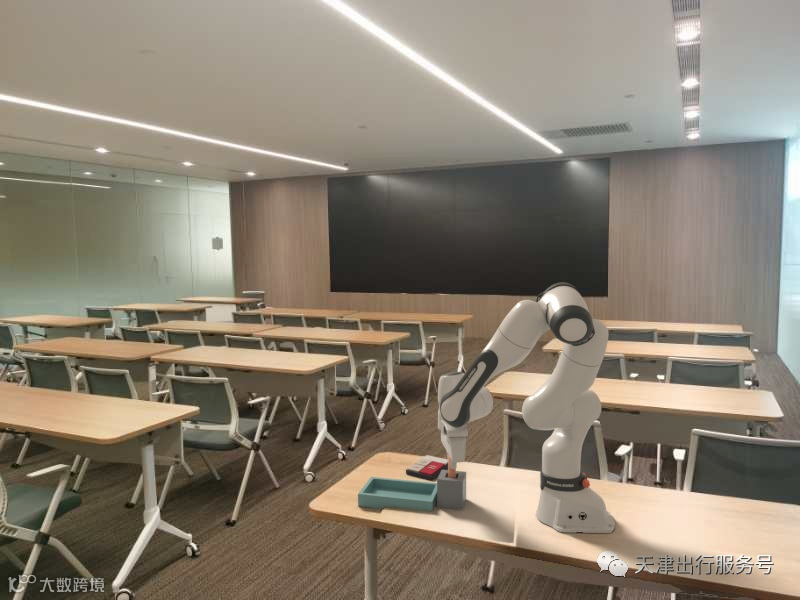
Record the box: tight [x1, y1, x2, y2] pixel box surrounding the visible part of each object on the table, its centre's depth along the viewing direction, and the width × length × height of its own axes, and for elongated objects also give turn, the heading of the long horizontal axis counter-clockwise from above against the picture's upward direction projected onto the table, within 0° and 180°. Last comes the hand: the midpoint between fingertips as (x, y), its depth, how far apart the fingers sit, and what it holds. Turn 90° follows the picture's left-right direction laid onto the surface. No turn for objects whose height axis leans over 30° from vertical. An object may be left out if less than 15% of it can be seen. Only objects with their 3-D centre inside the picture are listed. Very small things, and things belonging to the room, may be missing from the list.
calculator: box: [405, 454, 448, 481], centre depth 201 cm, size 11×4×15 cm
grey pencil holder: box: [436, 470, 467, 511], centre depth 174 cm, size 8×8×10 cm
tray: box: [357, 476, 437, 512], centre depth 179 cm, size 24×14×4 cm, turn 76°
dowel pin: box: [447, 454, 457, 478], centre depth 174 cm, size 2×2×16 cm
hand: (452, 465), depth 174 cm, fingers closed on dowel pin, 2 cm apart
